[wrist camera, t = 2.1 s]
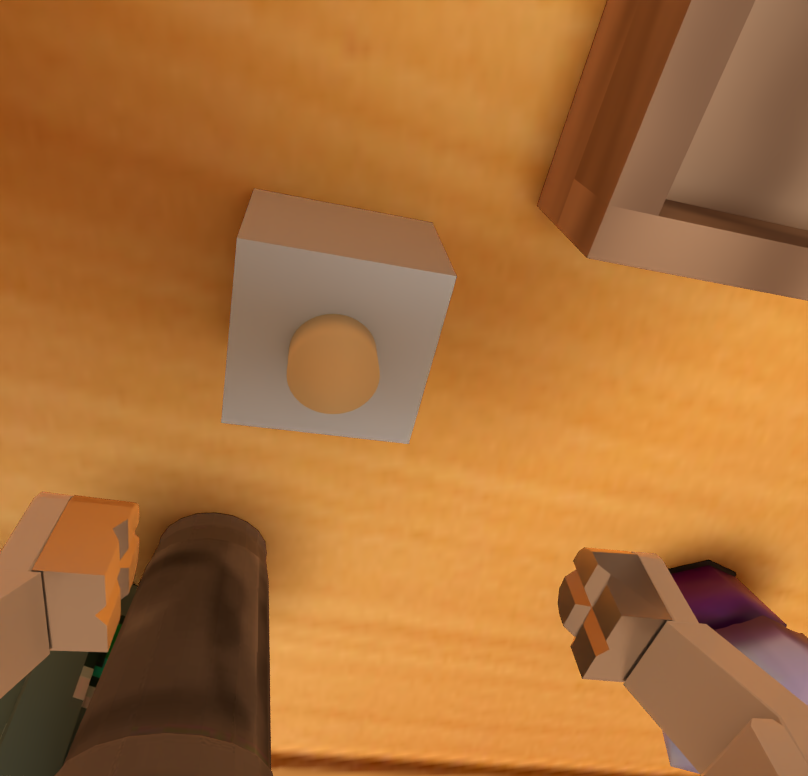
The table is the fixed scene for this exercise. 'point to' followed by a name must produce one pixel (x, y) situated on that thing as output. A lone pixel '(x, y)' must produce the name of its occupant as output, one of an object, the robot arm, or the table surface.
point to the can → (50, 708)
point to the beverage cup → (187, 663)
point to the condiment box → (691, 143)
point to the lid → (333, 318)
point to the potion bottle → (741, 630)
